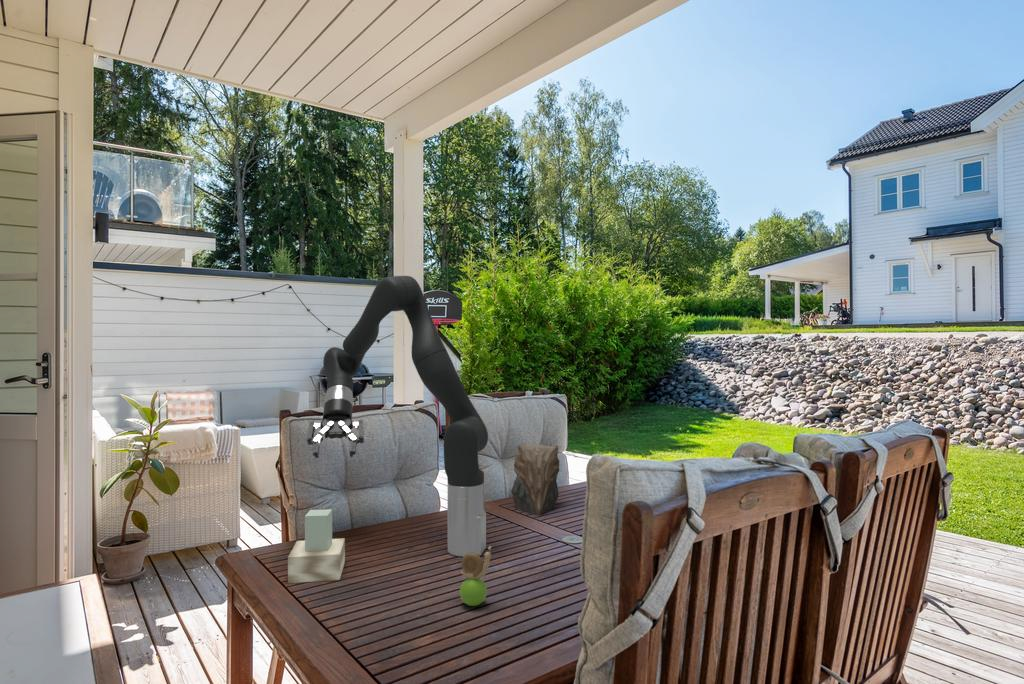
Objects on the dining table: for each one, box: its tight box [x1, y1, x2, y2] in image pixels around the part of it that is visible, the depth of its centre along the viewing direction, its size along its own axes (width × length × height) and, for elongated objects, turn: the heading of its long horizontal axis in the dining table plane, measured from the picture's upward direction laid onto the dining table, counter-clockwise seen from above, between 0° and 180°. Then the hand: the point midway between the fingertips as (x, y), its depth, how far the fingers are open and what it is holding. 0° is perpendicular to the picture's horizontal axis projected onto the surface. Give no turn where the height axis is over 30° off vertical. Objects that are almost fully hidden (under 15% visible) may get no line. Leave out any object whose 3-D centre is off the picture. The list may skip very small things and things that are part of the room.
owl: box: [510, 443, 560, 517], centre depth 191 cm, size 13×13×20 cm
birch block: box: [287, 537, 346, 584], centre depth 138 cm, size 11×11×6 cm
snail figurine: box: [459, 545, 492, 607], centre depth 121 cm, size 5×6×12 cm
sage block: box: [304, 509, 333, 552], centre depth 138 cm, size 5×5×8 cm
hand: (334, 455), depth 153 cm, fingers open, 8 cm apart
